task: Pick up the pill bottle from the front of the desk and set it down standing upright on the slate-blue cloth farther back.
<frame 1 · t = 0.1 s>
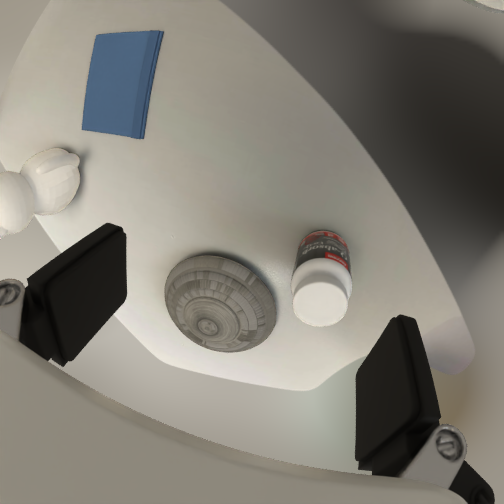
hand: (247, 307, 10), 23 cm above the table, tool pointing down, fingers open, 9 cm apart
flying saucer: (221, 301, 39), on the table
cat figurine: (68, 171, 36), on the table
pill bottle: (323, 252, 33), on the table
cloth: (118, 82, 29), on the table
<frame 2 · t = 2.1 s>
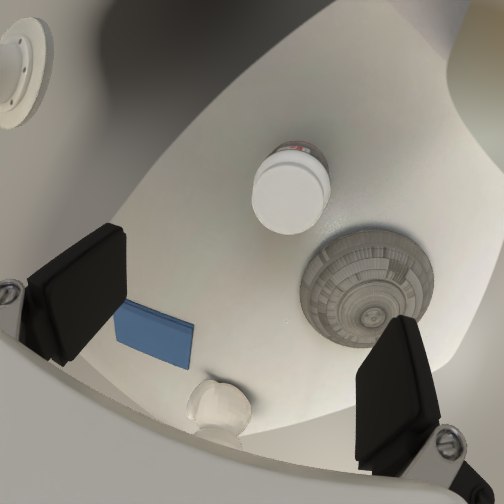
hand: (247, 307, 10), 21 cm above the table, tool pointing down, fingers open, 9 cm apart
flying saucer: (367, 286, 31), on the table
cat figurine: (225, 391, 45), on the table
pill bottle: (297, 169, 28), on the table
cloth: (151, 333, 42), on the table
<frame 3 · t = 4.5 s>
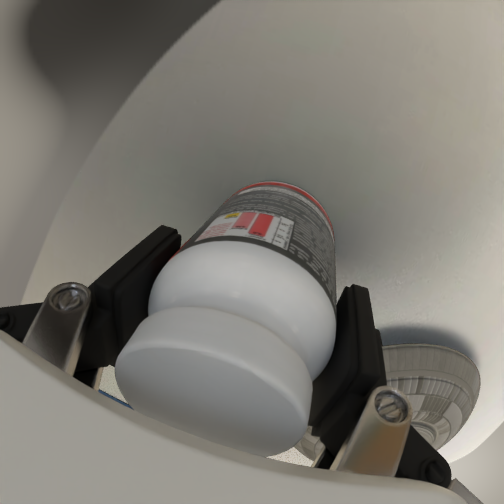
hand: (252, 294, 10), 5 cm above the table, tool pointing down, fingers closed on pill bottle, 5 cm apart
flying saucer: (381, 400, 19), on the table
pill bottle: (275, 235, 15), on the table, touching gripper
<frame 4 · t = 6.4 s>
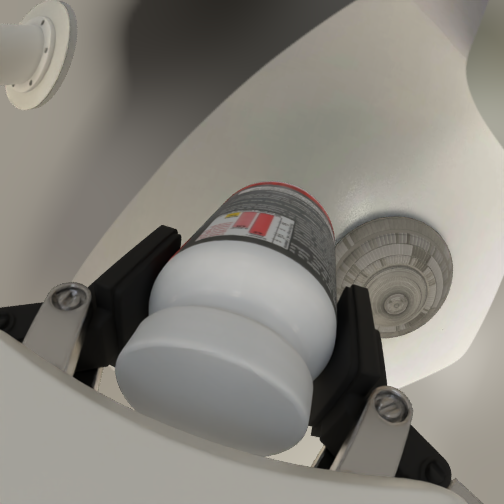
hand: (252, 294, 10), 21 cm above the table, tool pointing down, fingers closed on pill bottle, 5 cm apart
flying saucer: (387, 276, 31), on the table
pill bottle: (275, 234, 15), point 16 cm above the table, touching gripper
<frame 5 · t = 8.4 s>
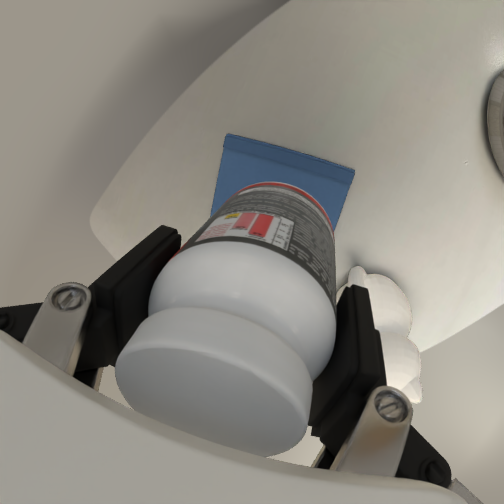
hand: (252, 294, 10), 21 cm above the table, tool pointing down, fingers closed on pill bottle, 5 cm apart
cat figurine: (366, 294, 33), on the table
pill bottle: (275, 235, 15), point 16 cm above the table, touching gripper
cloth: (278, 196, 30), on the table
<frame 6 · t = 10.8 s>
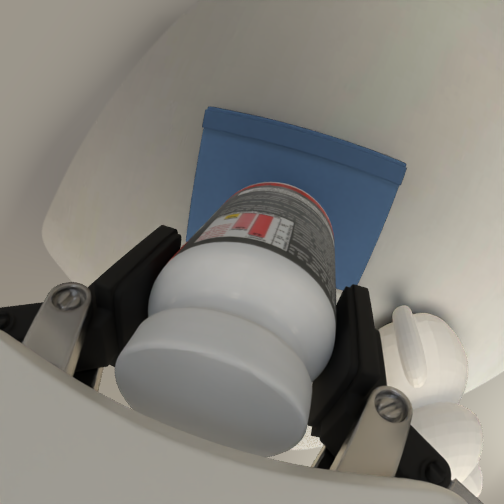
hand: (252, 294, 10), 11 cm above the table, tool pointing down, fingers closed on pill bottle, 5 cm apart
cat figurine: (405, 337, 22), on the table
pill bottle: (275, 235, 15), point 6 cm above the table, touching gripper
cloth: (288, 202, 20), on the table
when the fingers open (5 cm above the table, at t = 12.6 s): pill bottle stays where it is, resting on cloth.
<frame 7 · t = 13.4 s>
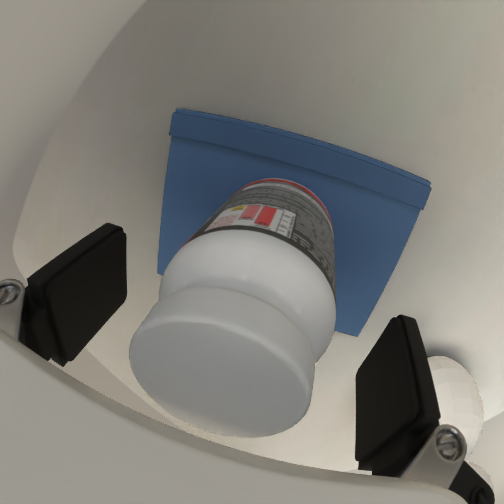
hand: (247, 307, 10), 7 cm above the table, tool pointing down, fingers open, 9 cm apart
cat figurine: (414, 378, 18), on the table
pill bottle: (277, 229, 15), resting on cloth
cloth: (279, 229, 16), on the table
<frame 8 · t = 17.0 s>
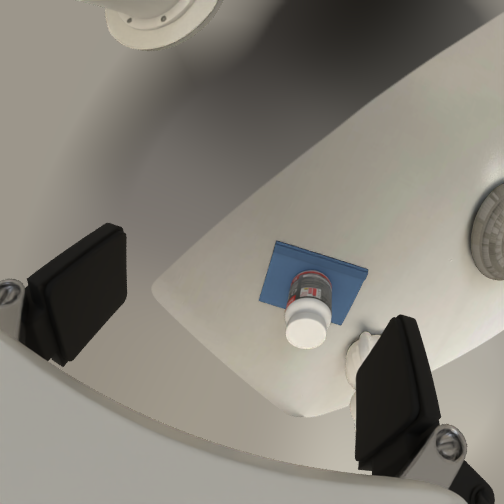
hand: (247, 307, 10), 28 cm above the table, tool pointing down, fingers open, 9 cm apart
cat figurine: (370, 346, 44), on the table
pill bottle: (311, 285, 41), resting on cloth
cloth: (311, 285, 41), on the table
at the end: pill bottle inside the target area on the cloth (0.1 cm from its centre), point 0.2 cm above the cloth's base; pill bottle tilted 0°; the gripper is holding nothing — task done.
